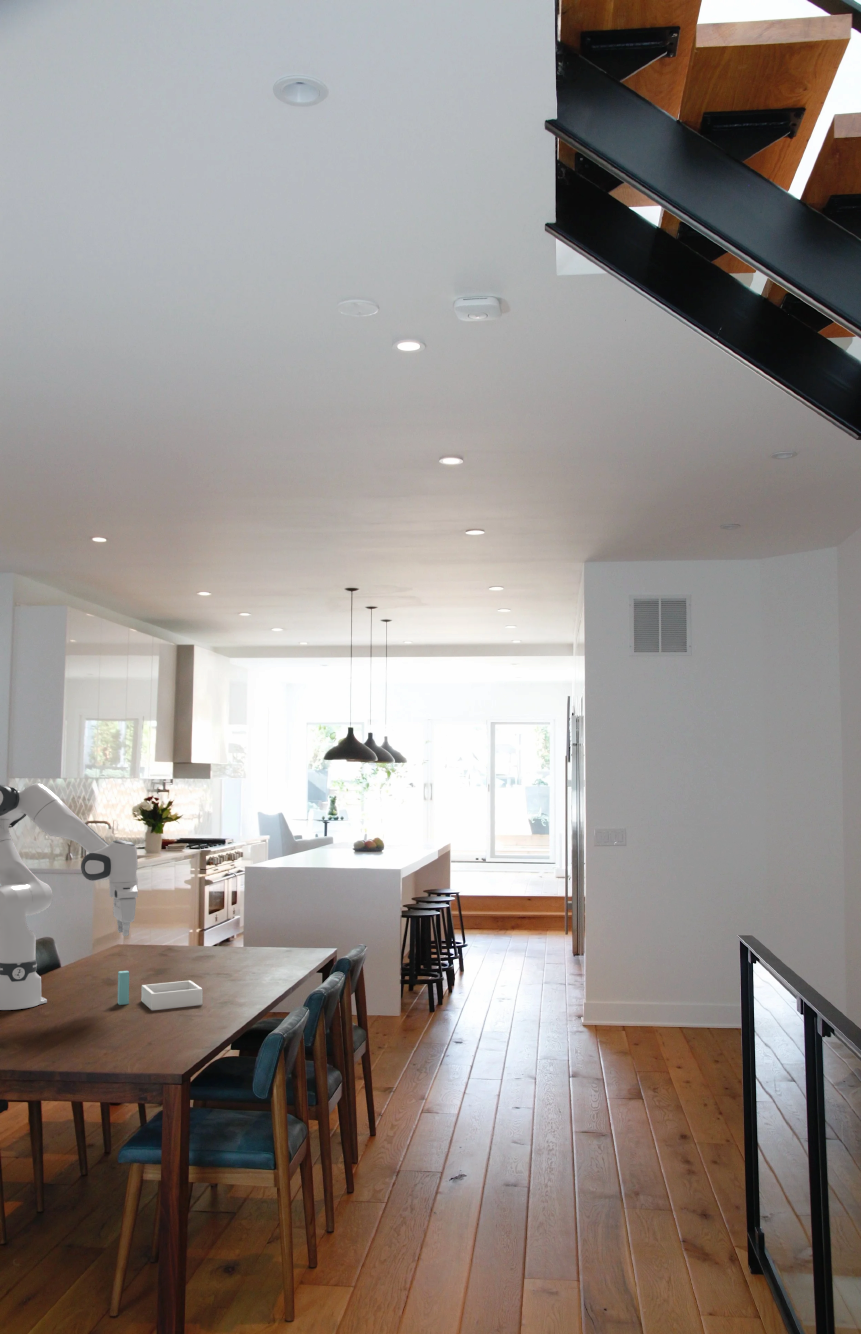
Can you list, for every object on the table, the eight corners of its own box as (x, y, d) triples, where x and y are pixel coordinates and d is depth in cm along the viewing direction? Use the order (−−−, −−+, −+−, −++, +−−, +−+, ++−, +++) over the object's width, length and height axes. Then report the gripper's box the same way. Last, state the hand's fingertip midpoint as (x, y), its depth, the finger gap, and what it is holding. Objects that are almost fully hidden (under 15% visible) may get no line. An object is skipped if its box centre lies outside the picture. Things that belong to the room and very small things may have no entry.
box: (141, 1001, 338) (141, 985, 338) (190, 995, 345) (190, 980, 346) (151, 1010, 324) (152, 994, 324) (202, 1004, 331) (202, 988, 331)
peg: (117, 1003, 335) (118, 971, 336) (127, 1002, 336) (127, 970, 337) (119, 1005, 332) (119, 973, 333) (128, 1004, 334) (129, 972, 335)
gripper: (108, 888, 345) (108, 931, 344) (118, 893, 327) (118, 938, 326) (128, 887, 348) (127, 929, 347) (138, 892, 330) (138, 936, 328)
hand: (123, 934), depth 336 cm, fingers open, 8 cm apart
